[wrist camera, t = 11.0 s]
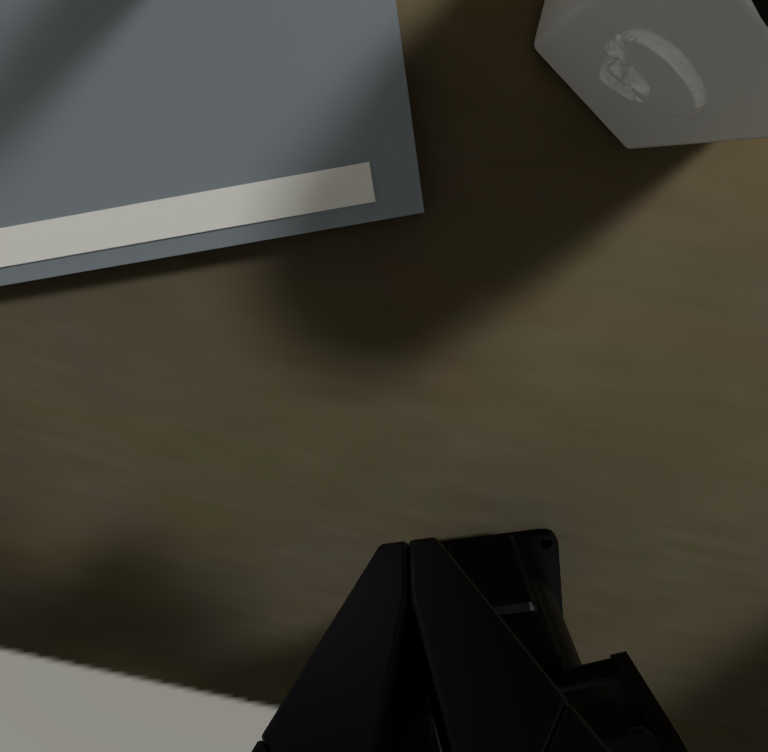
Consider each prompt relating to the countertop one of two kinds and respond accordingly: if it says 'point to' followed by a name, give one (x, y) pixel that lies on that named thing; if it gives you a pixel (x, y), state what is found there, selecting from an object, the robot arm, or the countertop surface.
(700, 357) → the countertop surface
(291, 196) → the switch panel
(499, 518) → the countertop surface
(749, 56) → the jar
